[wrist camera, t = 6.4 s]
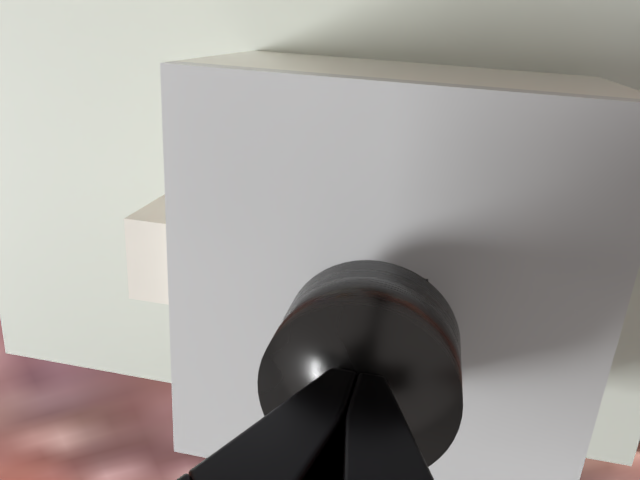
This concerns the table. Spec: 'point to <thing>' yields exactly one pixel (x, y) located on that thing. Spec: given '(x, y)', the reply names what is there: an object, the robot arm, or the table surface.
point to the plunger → (373, 345)
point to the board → (147, 144)
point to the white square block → (398, 233)
